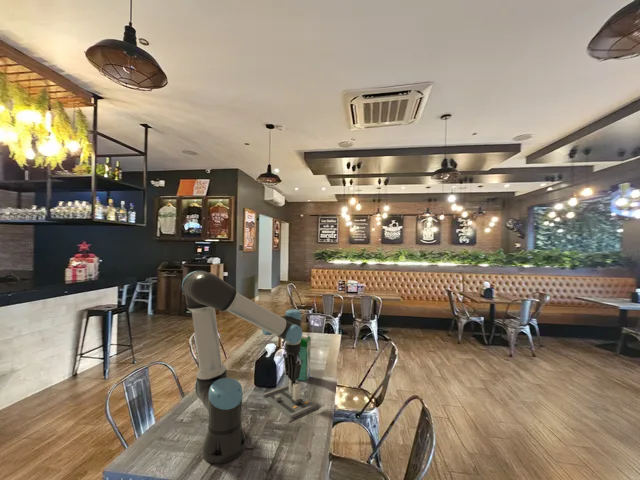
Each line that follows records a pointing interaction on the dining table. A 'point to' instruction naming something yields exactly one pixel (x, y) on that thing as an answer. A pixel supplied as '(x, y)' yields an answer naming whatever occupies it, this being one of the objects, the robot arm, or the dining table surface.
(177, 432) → the dining table surface
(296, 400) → the fader
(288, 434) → the dining table surface
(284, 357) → the robot arm
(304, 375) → the milk carton
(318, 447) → the dining table surface
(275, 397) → the console
